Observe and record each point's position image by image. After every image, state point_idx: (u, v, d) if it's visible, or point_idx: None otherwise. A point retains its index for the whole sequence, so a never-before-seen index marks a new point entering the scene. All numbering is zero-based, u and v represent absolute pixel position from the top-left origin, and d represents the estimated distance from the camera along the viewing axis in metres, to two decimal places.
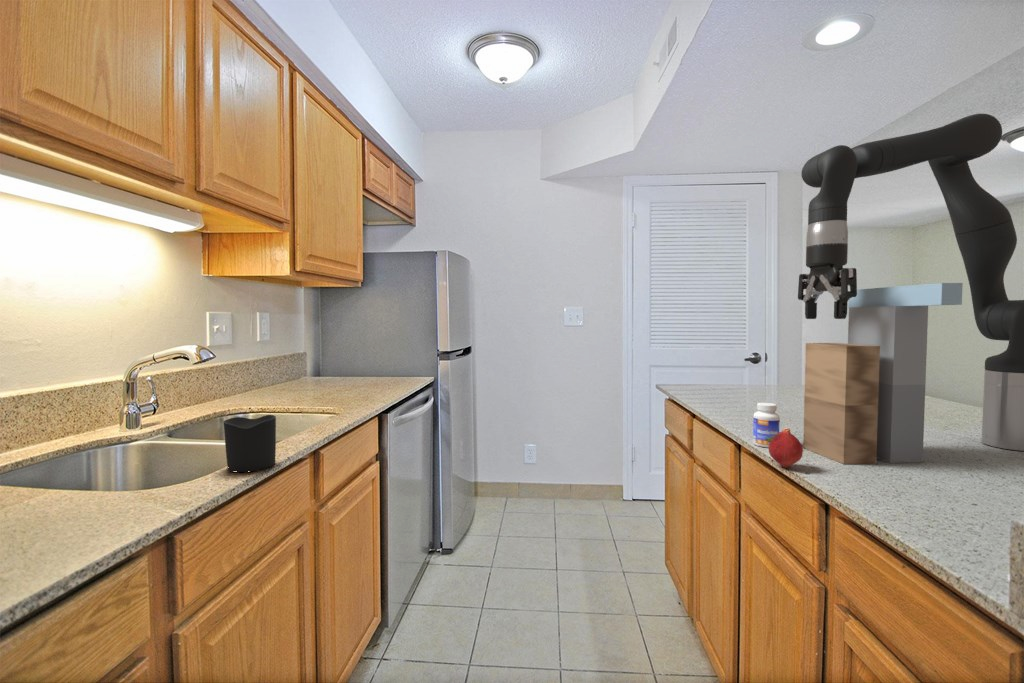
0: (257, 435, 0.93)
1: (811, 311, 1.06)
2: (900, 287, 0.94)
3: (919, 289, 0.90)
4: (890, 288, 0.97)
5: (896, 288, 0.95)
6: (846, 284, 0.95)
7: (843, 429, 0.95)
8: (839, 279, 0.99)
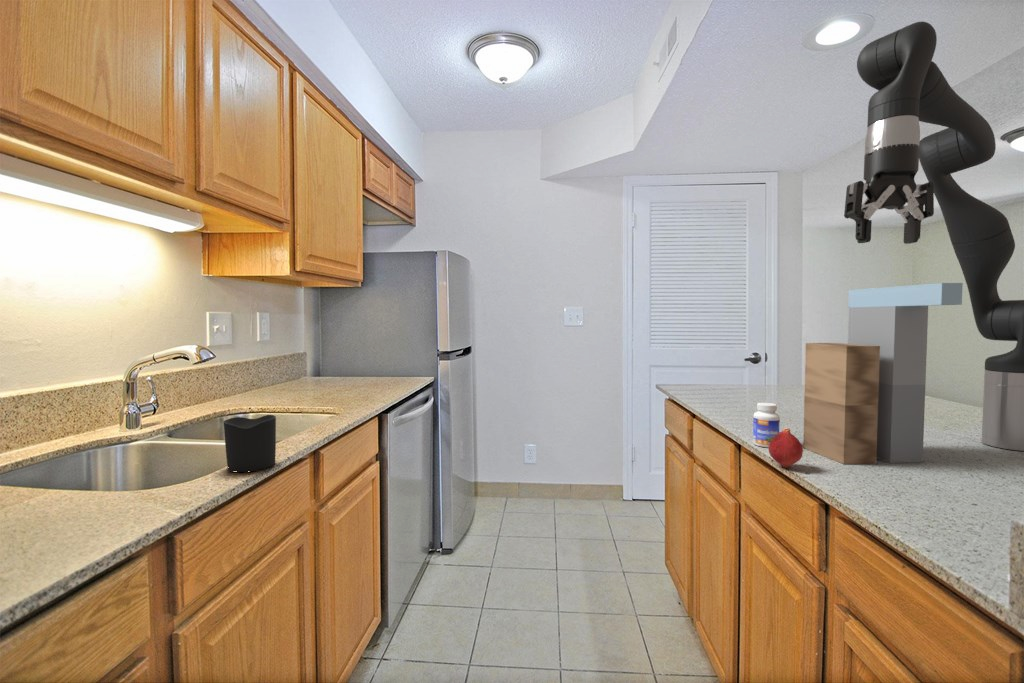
0: (257, 435, 0.93)
1: None
2: (900, 287, 0.94)
3: (919, 289, 0.90)
4: (890, 288, 0.97)
5: (896, 288, 0.95)
6: None
7: (843, 429, 0.95)
8: None
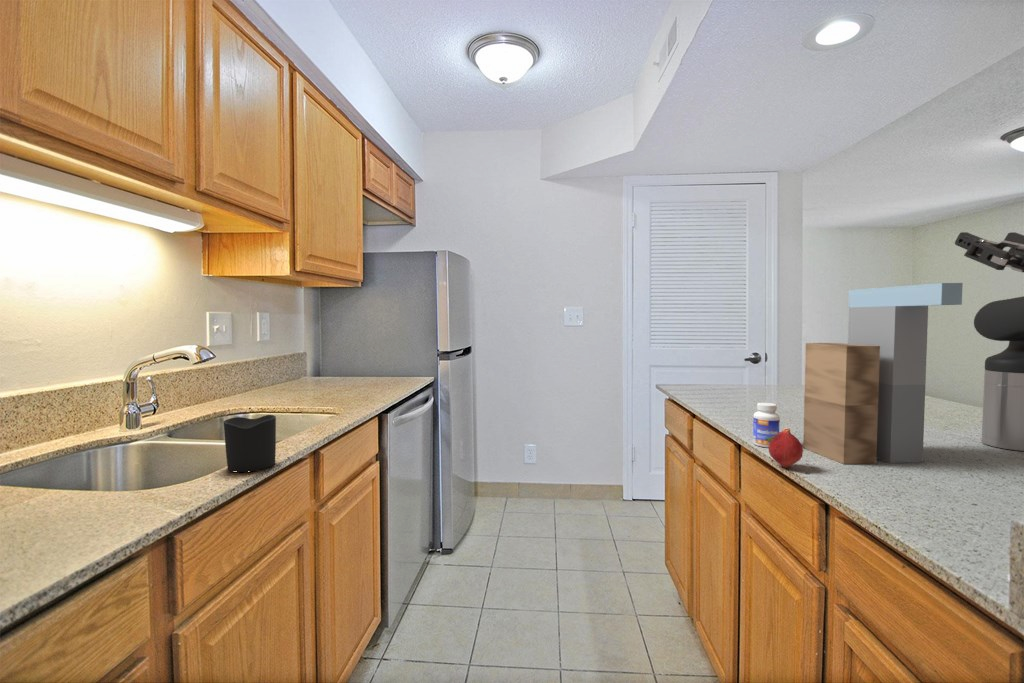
0: (257, 435, 0.93)
1: None
2: (900, 287, 0.94)
3: (919, 289, 0.90)
4: (890, 288, 0.97)
5: (896, 288, 0.95)
6: None
7: (843, 429, 0.95)
8: None
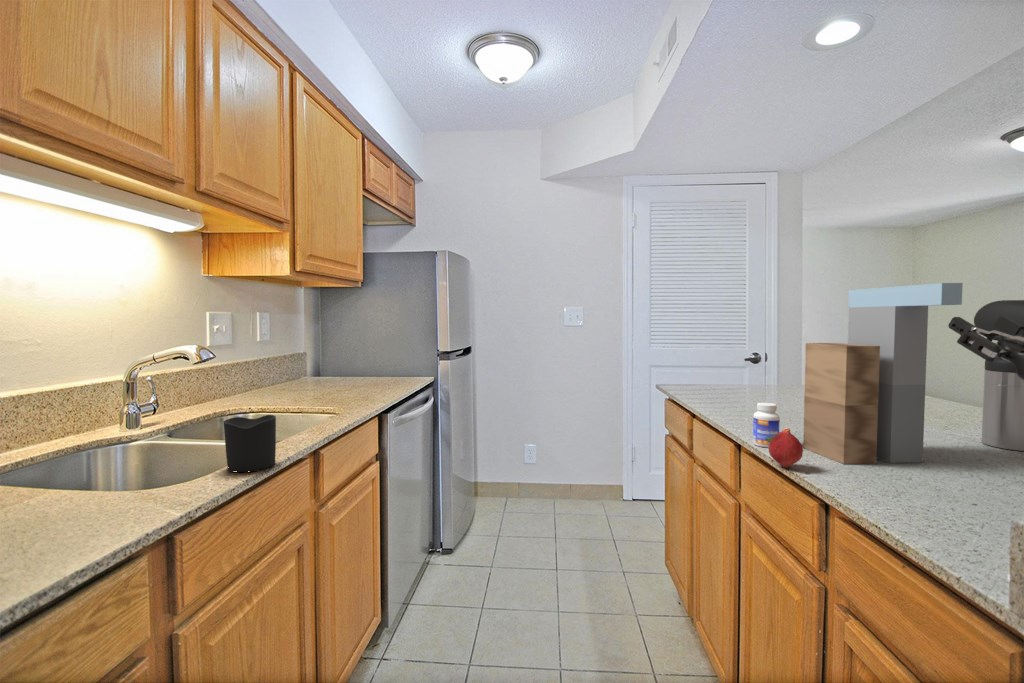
0: (257, 435, 0.93)
1: None
2: (900, 287, 0.94)
3: (919, 289, 0.90)
4: (890, 288, 0.97)
5: (896, 288, 0.95)
6: None
7: (843, 429, 0.95)
8: None
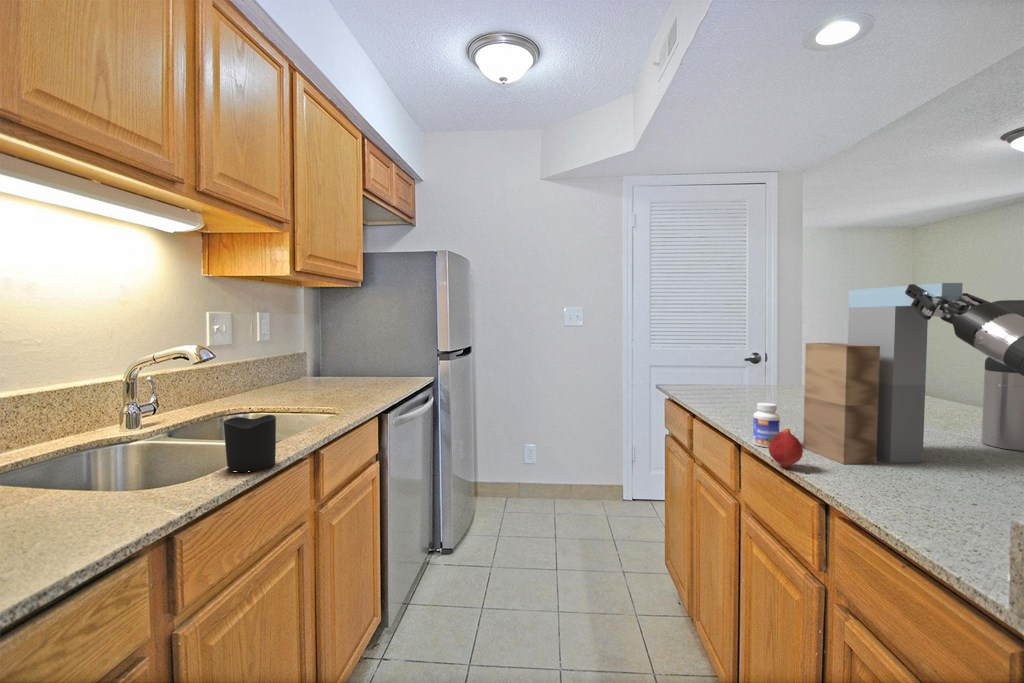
0: (257, 435, 0.93)
1: None
2: (900, 287, 0.94)
3: None
4: (890, 288, 0.97)
5: (896, 288, 0.95)
6: None
7: (843, 429, 0.95)
8: None
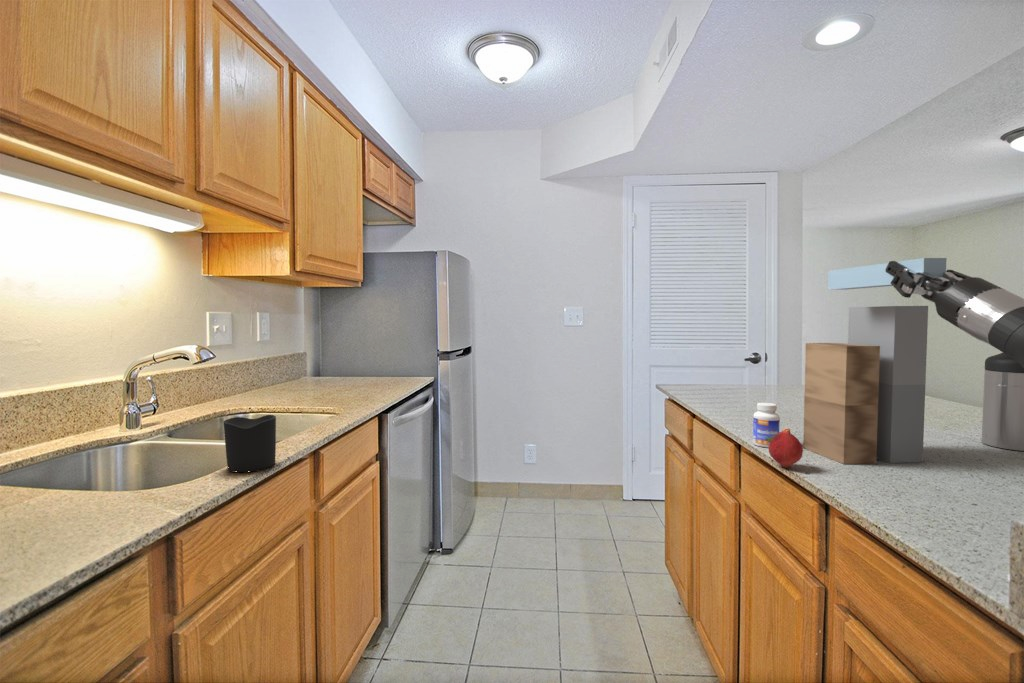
0: (257, 435, 0.93)
1: None
2: (880, 265, 0.87)
3: None
4: (870, 266, 0.89)
5: (876, 266, 0.88)
6: None
7: (843, 429, 0.95)
8: None
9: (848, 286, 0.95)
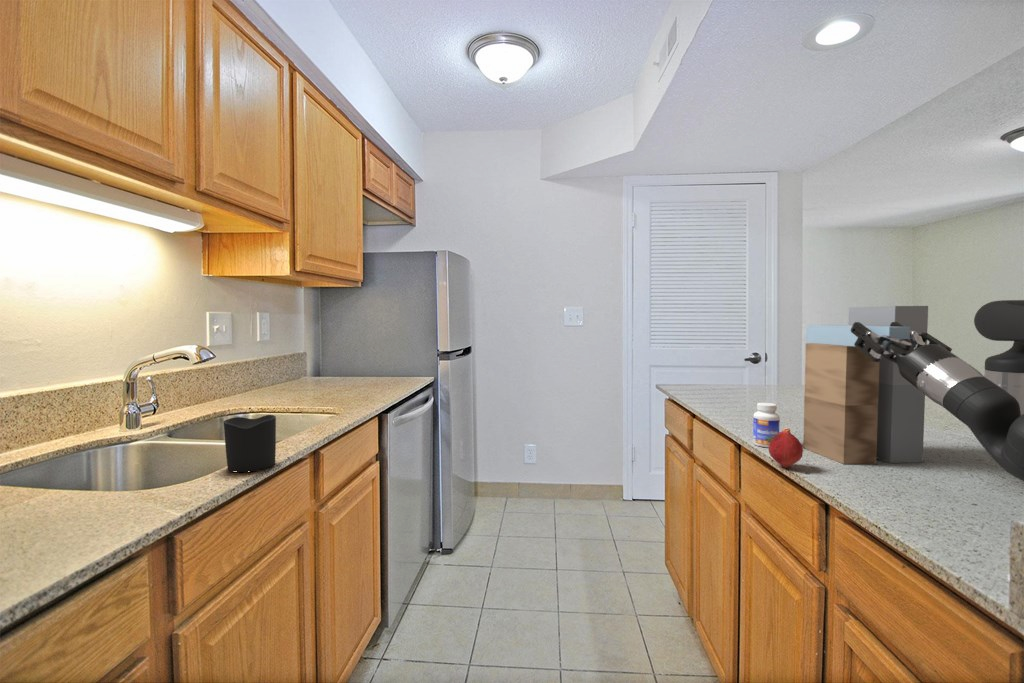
0: (257, 435, 0.93)
1: None
2: None
3: None
4: (843, 327, 0.96)
5: (849, 328, 0.95)
6: None
7: (843, 429, 0.95)
8: None
9: (824, 342, 1.02)
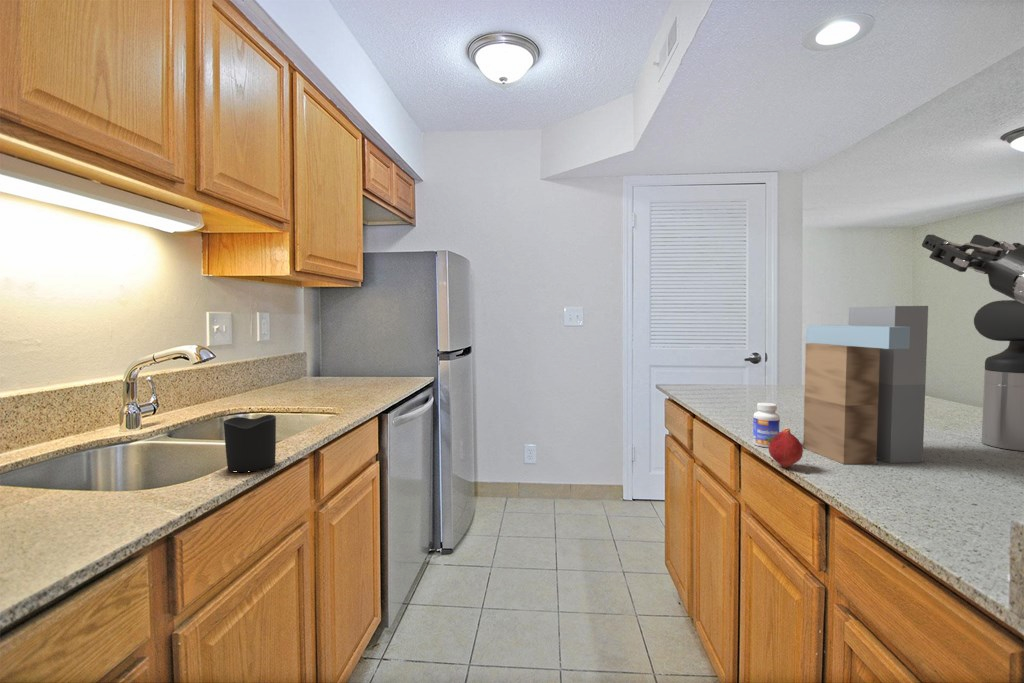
0: (257, 435, 0.93)
1: None
2: (852, 327, 0.94)
3: (869, 331, 0.90)
4: (843, 327, 0.96)
5: (849, 328, 0.95)
6: None
7: (843, 429, 0.95)
8: None
9: (824, 342, 1.02)
